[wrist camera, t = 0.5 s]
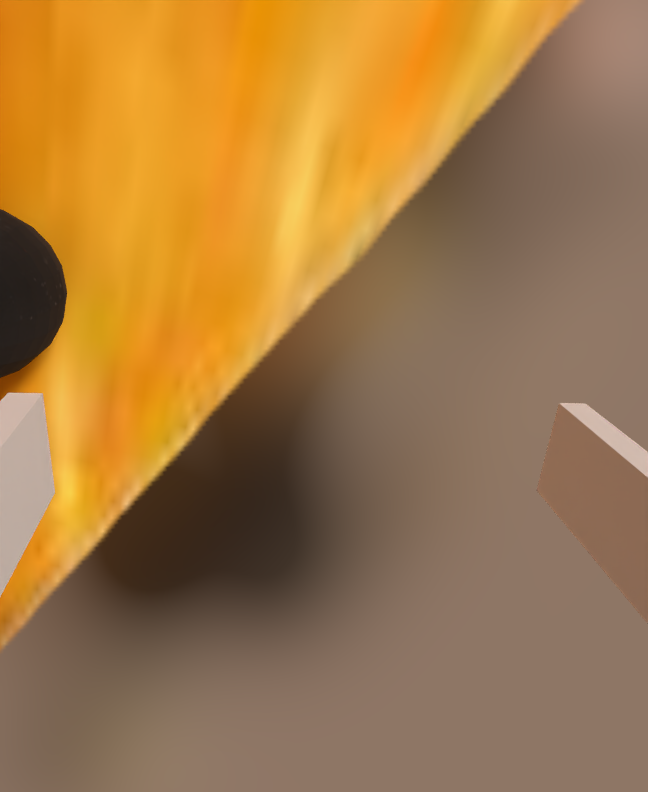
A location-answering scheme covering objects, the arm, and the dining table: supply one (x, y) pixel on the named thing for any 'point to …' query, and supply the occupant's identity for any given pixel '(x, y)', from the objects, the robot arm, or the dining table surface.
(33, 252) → the bottle
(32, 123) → the dining table surface
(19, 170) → the dining table surface
